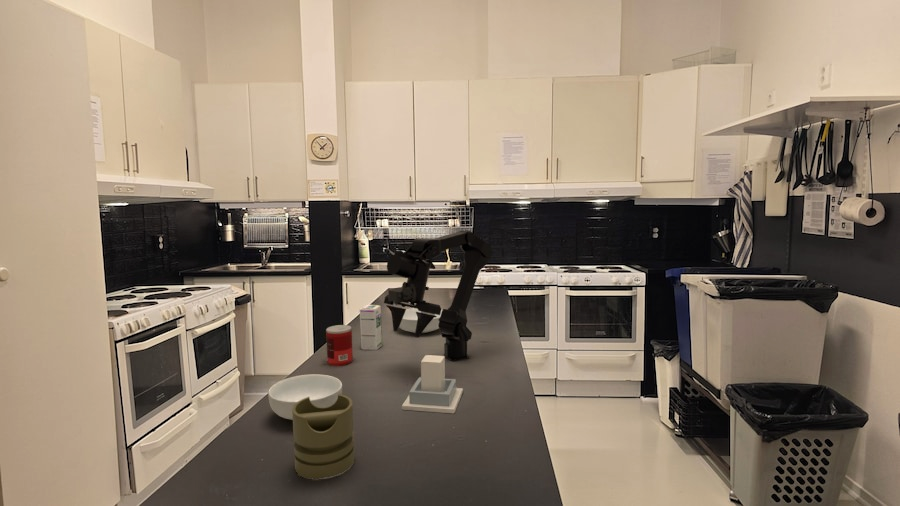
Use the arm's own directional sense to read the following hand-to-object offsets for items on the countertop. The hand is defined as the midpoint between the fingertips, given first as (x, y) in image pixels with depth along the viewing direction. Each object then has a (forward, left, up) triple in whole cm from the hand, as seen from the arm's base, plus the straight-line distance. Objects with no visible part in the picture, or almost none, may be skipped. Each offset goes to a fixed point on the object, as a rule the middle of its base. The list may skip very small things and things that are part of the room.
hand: (405, 334), depth 141 cm
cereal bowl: (+30, +14, -13) cm, 35 cm away
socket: (0, +19, -12) cm, 23 cm away
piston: (+30, +38, -13) cm, 50 cm away
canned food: (+15, -20, -13) cm, 28 cm away
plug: (0, +19, -11) cm, 23 cm away
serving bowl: (-21, -43, -13) cm, 50 cm away
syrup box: (+2, -30, -13) cm, 33 cm away
